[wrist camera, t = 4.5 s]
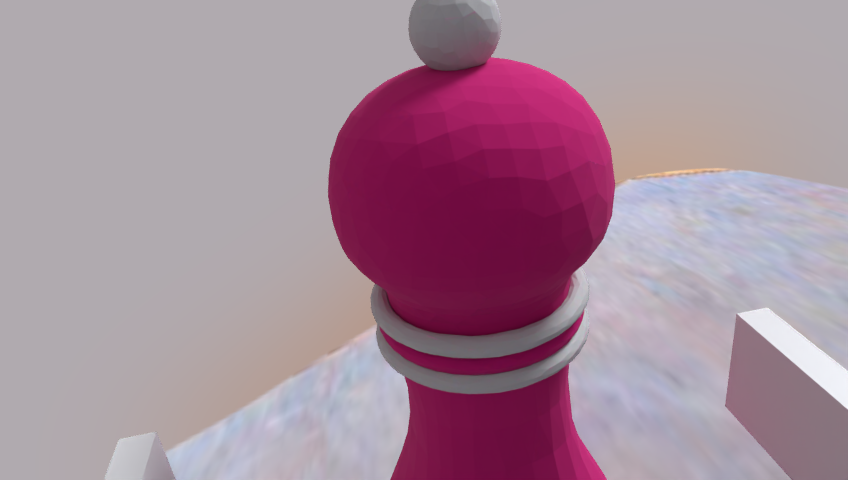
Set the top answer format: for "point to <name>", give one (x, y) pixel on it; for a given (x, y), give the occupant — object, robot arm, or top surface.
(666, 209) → the top surface
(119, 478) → the robot arm
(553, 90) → the pepper mill
